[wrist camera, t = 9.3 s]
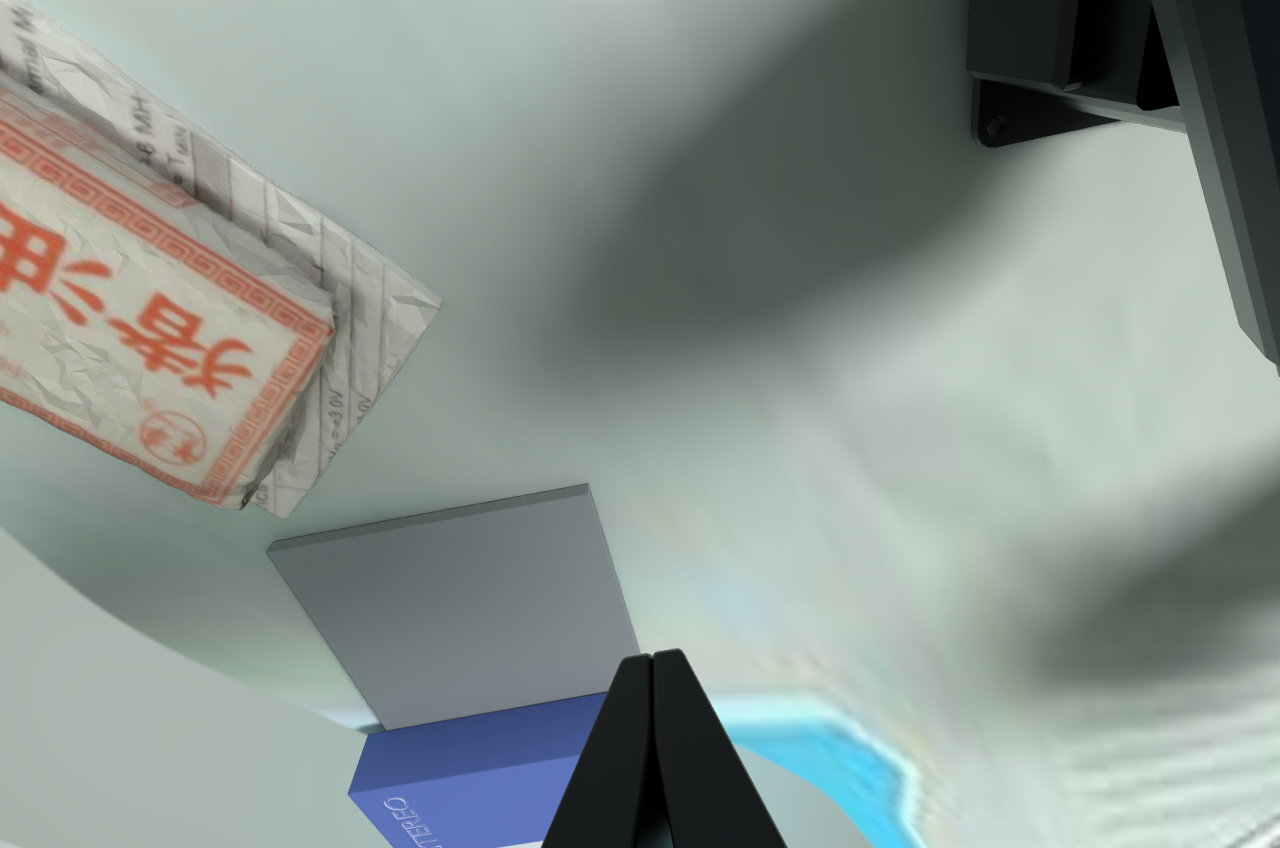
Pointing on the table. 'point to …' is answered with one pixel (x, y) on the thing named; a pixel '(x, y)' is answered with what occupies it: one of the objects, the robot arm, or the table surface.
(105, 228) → the packaged product
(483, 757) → the walkman
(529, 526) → the mat
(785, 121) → the table surface
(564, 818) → the robot arm
